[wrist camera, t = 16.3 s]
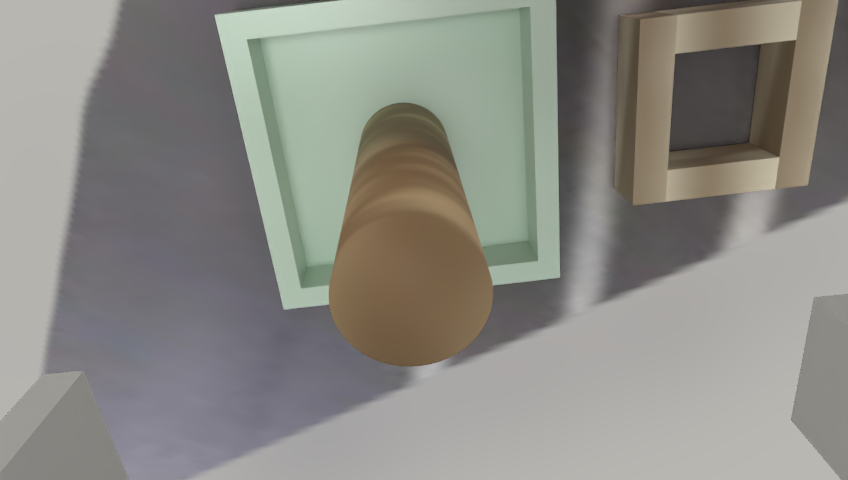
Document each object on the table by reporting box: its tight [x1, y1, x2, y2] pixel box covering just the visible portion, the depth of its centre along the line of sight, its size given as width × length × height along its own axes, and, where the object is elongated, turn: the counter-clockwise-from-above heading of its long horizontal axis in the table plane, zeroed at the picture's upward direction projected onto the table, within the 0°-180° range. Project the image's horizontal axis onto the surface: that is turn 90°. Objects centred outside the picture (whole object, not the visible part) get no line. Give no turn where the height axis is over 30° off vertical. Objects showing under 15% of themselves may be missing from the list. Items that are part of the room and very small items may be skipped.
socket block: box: [614, 0, 839, 205], centre depth 27 cm, size 8×8×2 cm
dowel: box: [329, 103, 493, 366], centre depth 21 cm, size 4×4×14 cm
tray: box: [215, 0, 560, 310], centre depth 27 cm, size 13×13×3 cm
